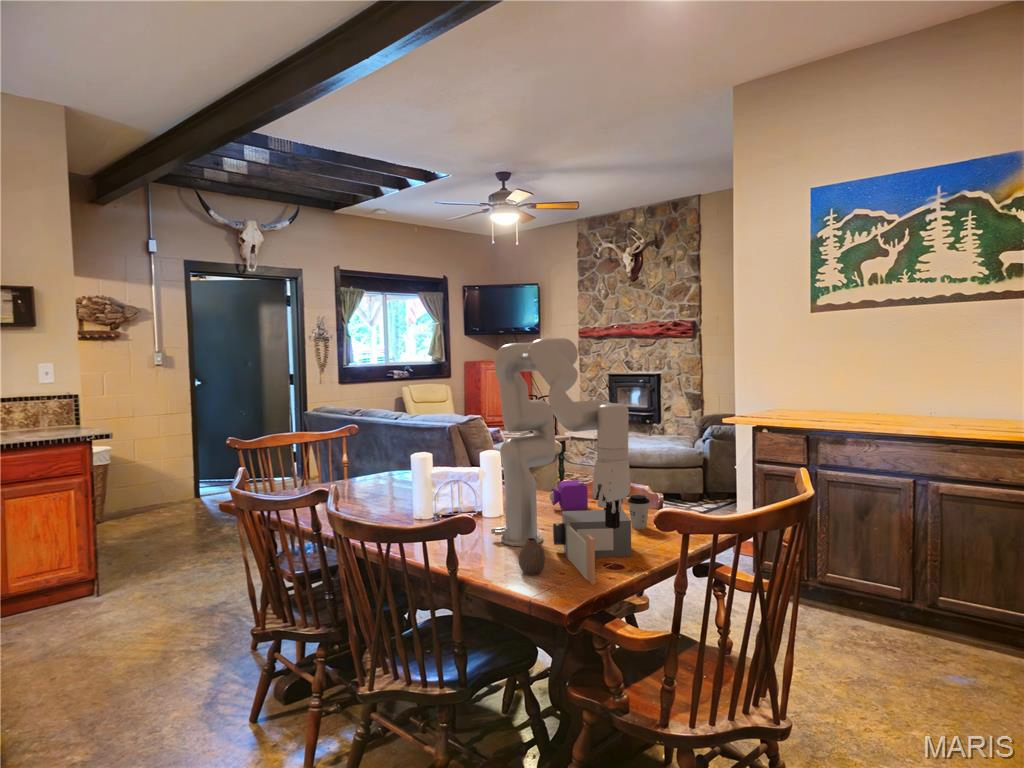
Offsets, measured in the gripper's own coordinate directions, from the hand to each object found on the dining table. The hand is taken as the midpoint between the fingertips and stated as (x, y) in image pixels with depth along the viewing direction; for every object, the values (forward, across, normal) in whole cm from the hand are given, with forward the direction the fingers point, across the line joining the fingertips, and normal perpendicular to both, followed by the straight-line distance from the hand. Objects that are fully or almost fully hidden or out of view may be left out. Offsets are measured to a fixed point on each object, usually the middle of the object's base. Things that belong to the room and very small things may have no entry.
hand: (612, 527), depth 151 cm
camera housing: (+14, -15, -18) cm, 27 cm away
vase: (+14, +9, -19) cm, 25 cm away
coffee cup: (+15, -42, -20) cm, 49 cm away
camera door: (+14, +1, -9) cm, 17 cm away
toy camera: (+16, -47, -52) cm, 72 cm away
